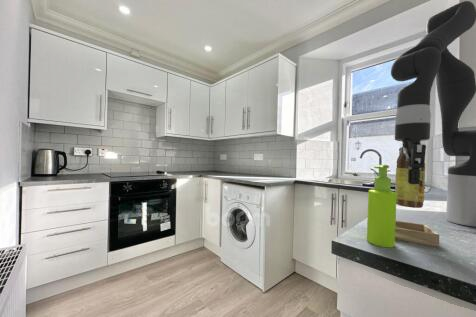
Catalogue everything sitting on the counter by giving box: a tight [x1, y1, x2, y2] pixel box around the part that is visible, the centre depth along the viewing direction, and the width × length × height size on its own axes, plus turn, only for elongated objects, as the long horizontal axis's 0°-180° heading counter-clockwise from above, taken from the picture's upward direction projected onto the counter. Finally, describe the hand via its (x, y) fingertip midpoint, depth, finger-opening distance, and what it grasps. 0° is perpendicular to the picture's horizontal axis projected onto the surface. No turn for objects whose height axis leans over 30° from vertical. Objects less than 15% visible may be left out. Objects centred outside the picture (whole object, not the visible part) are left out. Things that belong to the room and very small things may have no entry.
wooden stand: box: [395, 220, 440, 248], centre depth 57 cm, size 9×10×3 cm
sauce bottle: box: [394, 140, 426, 209], centre depth 57 cm, size 6×6×20 cm
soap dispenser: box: [366, 164, 397, 248], centre depth 51 cm, size 6×7×20 cm
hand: (409, 182), depth 57 cm, fingers closed on sauce bottle, 6 cm apart
